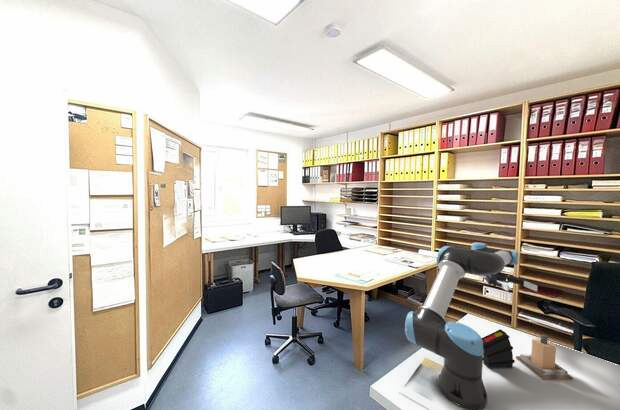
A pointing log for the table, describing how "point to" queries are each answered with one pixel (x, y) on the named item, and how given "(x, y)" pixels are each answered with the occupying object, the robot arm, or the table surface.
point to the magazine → (497, 350)
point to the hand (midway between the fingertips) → (522, 288)
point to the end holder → (542, 373)
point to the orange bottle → (543, 353)
